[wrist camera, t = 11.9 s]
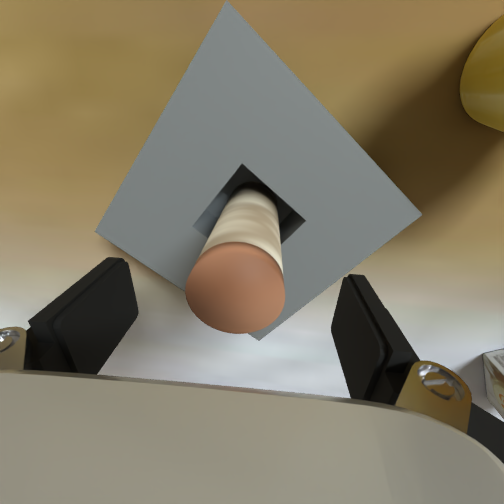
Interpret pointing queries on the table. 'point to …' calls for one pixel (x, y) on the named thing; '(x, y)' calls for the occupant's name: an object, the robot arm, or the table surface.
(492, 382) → the coffee box
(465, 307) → the table surface
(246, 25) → the socket block
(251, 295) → the birch peg
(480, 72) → the plant pot
